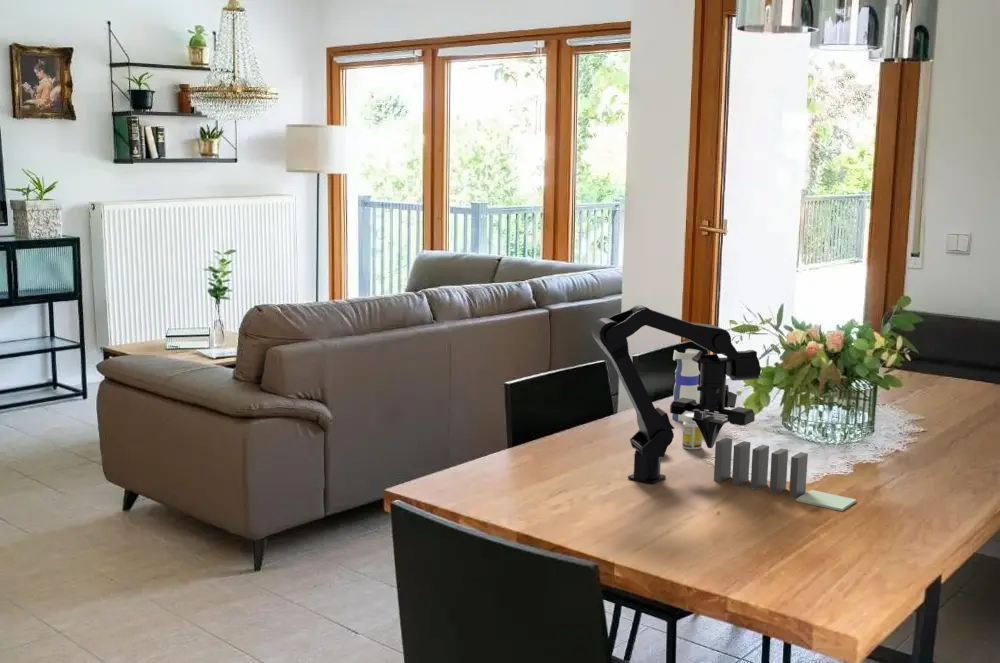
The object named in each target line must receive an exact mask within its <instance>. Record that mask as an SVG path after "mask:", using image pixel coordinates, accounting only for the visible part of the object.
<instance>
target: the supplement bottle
mask: <svg viewBox="0 0 1000 663" xmlns="http://www.w3.org/2000/svg"><path fill="white" fill-rule="evenodd" d="M693 417H694V413H688V414H685V422H682V448H683V449H686V450H691V451H692V450H694V451H695V450H699V449H701V448H702V442H703V441H702V440H703V435H702V433H701V431H700V429H699V427H698V425H697V424H696V422H695V421H693V420H692V418H693Z"/></svg>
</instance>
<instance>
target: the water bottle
mask: <svg viewBox="0 0 1000 663" xmlns="http://www.w3.org/2000/svg"><path fill="white" fill-rule="evenodd" d="M685 339H686V338H683V337H682V340H685ZM699 351H700V350H698V349H694V348H686V349H685V352H679V351H678V350H676V349H674V350H673V356H672V361H676V363H677V365H676V369H675V371H674V373H675V374H674V379H675V383H674V387H673V400H672V402H673V401H674V400H677V399H680V398H688V399H694V400H696V402H697V404H698V403H699V400H700V391H697V386H699V385H700V384H699V379H700V378H699V377H700V376H699V375H700V374H701V370H699V363H696V362H695V361H693V360H692V358H693V357H694V356H695V355H697V354H698V352H699ZM688 413H694V412H690V411H685V412H684V413H683V414H682V415H679V414H673V413H671V419H672V420H674V421H676V422H682V423H684V422H685V414H688Z"/></svg>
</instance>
